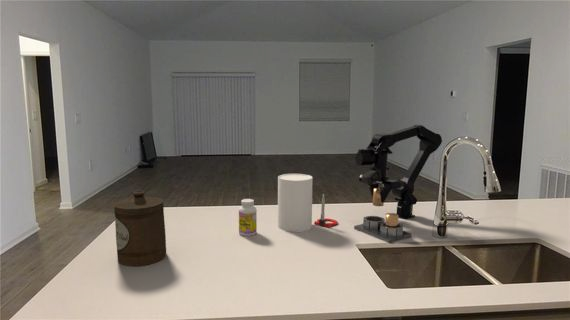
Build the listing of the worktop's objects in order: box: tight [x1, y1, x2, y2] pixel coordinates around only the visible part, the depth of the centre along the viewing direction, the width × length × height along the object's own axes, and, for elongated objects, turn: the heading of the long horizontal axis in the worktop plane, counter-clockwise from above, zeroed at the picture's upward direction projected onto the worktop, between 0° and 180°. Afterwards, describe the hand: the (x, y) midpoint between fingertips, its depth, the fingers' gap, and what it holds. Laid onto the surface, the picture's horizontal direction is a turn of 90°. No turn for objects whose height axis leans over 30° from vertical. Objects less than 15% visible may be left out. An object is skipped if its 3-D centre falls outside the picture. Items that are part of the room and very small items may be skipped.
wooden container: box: [113, 189, 167, 267], centre depth 127 cm, size 15×15×22 cm
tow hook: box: [313, 193, 338, 228], centre depth 163 cm, size 8×13×9 cm
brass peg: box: [372, 186, 385, 207], centre depth 168 cm, size 4×4×7 cm
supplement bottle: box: [238, 198, 258, 237], centre depth 150 cm, size 7×7×13 cm
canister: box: [277, 173, 314, 233], centre depth 159 cm, size 14×14×20 cm
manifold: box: [353, 212, 413, 244], centre depth 153 cm, size 18×12×8 cm, turn 33°
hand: (378, 201), depth 169 cm, fingers closed on brass peg, 4 cm apart
